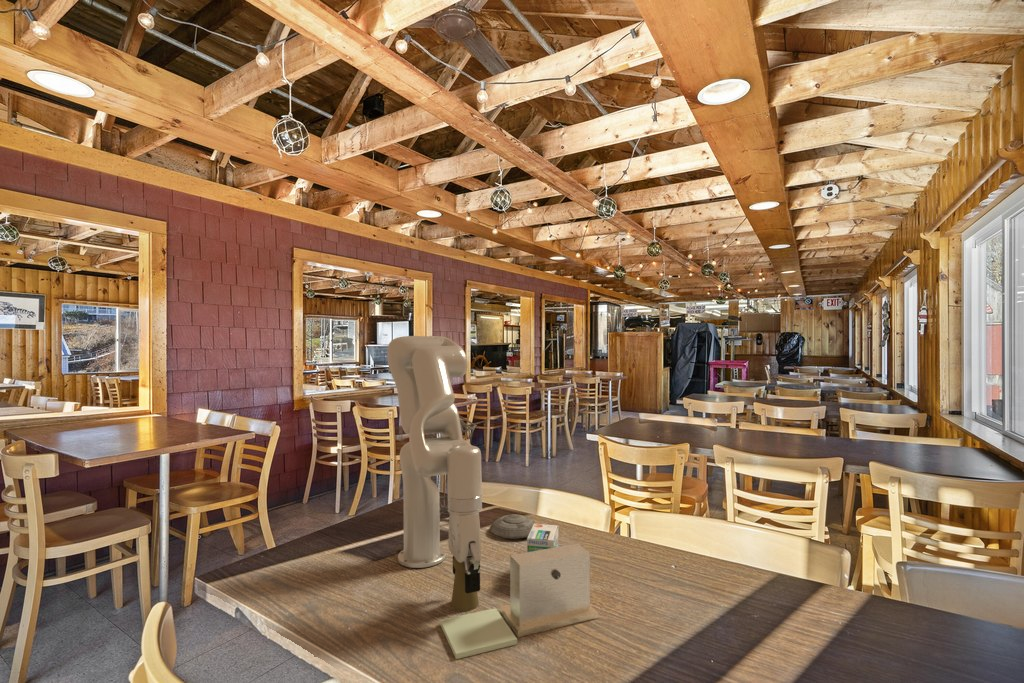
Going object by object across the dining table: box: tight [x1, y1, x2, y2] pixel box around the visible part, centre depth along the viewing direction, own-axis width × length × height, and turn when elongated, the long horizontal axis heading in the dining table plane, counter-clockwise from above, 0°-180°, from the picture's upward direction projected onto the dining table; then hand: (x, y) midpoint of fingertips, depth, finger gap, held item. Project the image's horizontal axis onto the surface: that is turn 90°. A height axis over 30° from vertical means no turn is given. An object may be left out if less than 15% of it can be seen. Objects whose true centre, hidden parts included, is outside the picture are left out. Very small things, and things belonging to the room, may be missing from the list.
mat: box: [439, 607, 518, 660], centre depth 97 cm, size 12×12×1 cm
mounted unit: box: [499, 543, 599, 638], centre depth 104 cm, size 10×18×13 cm, turn 112°
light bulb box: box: [526, 523, 560, 552], centre depth 123 cm, size 11×7×11 cm, turn 168°
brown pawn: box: [450, 556, 480, 612], centre depth 109 cm, size 6×6×11 cm
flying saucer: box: [489, 513, 537, 540], centre depth 151 cm, size 15×15×6 cm
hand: (465, 581), depth 108 cm, fingers open, 9 cm apart
